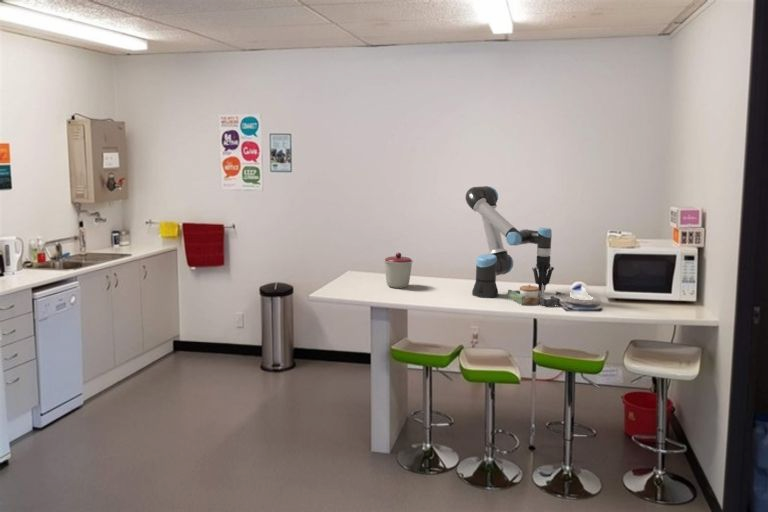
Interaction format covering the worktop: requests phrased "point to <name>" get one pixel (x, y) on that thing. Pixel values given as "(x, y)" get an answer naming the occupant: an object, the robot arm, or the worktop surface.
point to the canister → (398, 271)
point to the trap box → (532, 299)
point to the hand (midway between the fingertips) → (541, 296)
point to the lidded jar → (529, 291)
